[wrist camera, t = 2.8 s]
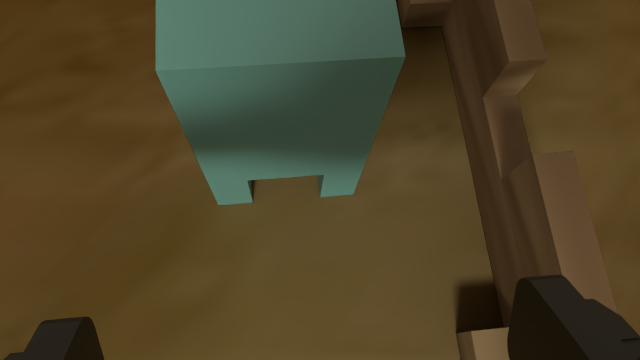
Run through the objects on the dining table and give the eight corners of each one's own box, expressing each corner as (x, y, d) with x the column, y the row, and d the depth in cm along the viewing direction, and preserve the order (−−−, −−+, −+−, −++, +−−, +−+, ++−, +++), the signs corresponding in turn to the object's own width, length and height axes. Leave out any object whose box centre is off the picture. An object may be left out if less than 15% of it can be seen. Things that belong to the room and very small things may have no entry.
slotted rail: (469, 406, 22) (530, 422, 16) (394, -18, 29) (419, -109, 23) (603, 391, 22) (707, 401, 17) (497, -23, 30) (546, -113, 24)
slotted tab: (218, 205, 24) (155, 70, 13) (216, 157, 25) (155, -9, 14) (353, 194, 25) (405, 56, 14) (347, 148, 26) (392, -19, 14)
